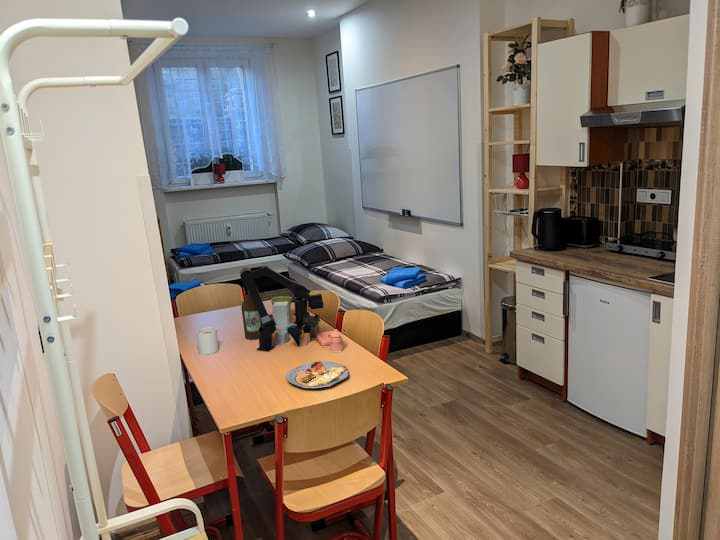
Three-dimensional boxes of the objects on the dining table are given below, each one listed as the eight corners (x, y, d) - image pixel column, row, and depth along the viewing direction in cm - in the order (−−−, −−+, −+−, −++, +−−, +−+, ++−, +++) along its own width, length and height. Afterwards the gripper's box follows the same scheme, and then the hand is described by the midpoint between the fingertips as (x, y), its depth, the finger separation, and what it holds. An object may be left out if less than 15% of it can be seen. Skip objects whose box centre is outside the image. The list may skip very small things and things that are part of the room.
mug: (213, 355, 250) (211, 334, 247) (194, 354, 252) (191, 333, 249) (223, 346, 260) (221, 326, 258) (205, 345, 262) (203, 325, 260)
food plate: (318, 361, 238) (318, 353, 237) (360, 374, 224) (359, 366, 223) (275, 382, 220) (274, 374, 219) (317, 398, 205) (317, 390, 204)
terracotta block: (305, 346, 256) (304, 336, 255) (295, 345, 258) (295, 335, 257) (310, 343, 261) (309, 333, 260) (300, 342, 263) (300, 332, 262)
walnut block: (315, 339, 266) (315, 329, 265) (306, 338, 268) (305, 328, 267) (319, 335, 271) (319, 325, 270) (310, 334, 273) (310, 325, 272)
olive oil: (244, 334, 277) (240, 285, 271) (265, 332, 278) (262, 284, 272) (243, 341, 266) (238, 291, 261) (265, 339, 268) (261, 289, 262)
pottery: (316, 341, 263) (315, 322, 261) (335, 338, 266) (334, 319, 264) (328, 354, 246) (327, 333, 244) (348, 351, 250) (347, 330, 248)
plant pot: (270, 317, 302) (268, 297, 300) (291, 314, 306) (290, 295, 303) (273, 323, 291) (272, 303, 289) (295, 321, 295) (294, 300, 292)
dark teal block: (295, 336, 270) (294, 327, 269) (286, 336, 272) (285, 326, 271) (299, 333, 275) (299, 324, 274) (290, 332, 277) (290, 323, 275)
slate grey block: (284, 344, 260) (283, 334, 259) (275, 343, 262) (274, 333, 261) (289, 341, 265) (288, 331, 264) (280, 340, 267) (279, 330, 265)
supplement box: (288, 329, 282) (286, 305, 279) (273, 329, 282) (271, 305, 279) (290, 324, 289) (288, 301, 286) (276, 324, 289) (274, 301, 286)
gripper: (307, 317, 245) (309, 350, 248) (325, 306, 262) (326, 337, 265) (285, 315, 248) (287, 348, 252) (304, 304, 265) (305, 335, 269)
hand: (302, 342), depth 259 cm, fingers open, 9 cm apart
